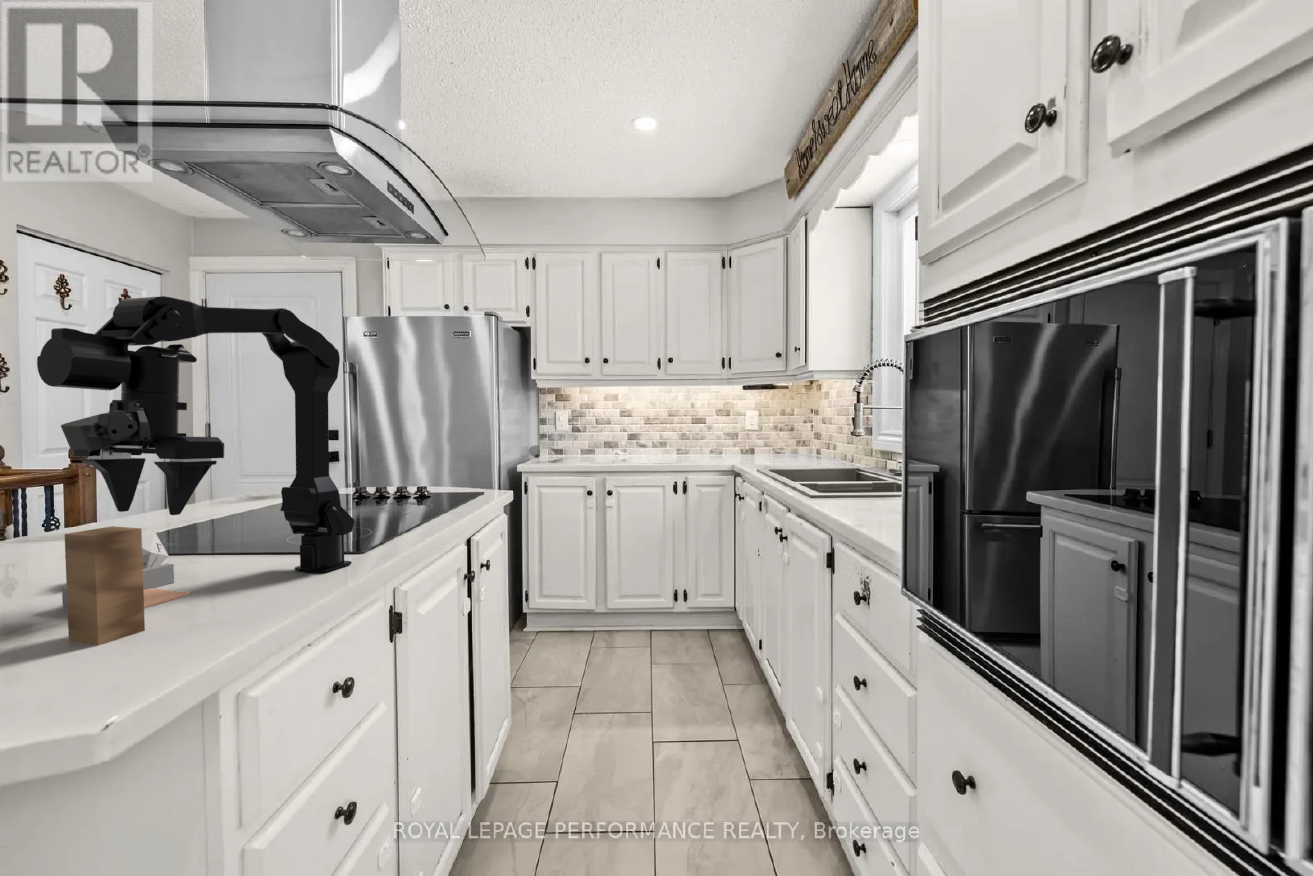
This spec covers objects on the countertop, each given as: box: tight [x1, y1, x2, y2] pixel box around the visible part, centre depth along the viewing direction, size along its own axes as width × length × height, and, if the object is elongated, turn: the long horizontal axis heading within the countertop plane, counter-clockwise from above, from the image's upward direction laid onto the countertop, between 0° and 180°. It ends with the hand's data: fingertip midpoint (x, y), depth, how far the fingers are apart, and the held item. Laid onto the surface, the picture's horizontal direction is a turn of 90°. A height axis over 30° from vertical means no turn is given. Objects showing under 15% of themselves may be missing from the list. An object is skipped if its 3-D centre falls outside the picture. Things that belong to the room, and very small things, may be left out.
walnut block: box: [64, 526, 146, 646], centre depth 73 cm, size 5×5×13 cm
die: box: [141, 529, 169, 569], centre depth 98 cm, size 8×9×10 cm
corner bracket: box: [61, 563, 175, 611], centre depth 88 cm, size 14×11×3 cm
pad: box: [144, 588, 190, 609], centre depth 87 cm, size 8×8×1 cm
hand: (148, 513), depth 77 cm, fingers open, 9 cm apart
